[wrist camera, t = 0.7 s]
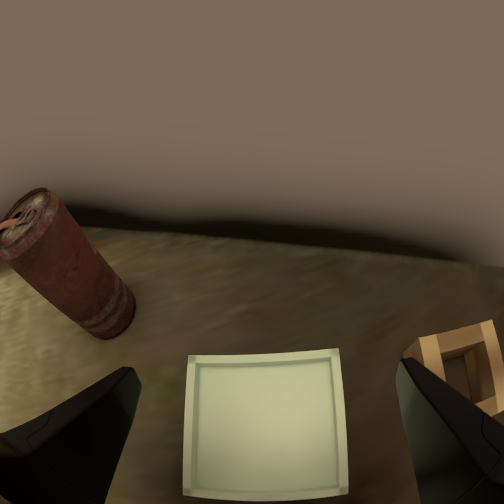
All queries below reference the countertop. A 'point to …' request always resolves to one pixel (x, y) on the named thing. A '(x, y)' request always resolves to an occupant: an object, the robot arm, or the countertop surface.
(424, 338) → the oak block
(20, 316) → the countertop surface
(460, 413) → the robot arm
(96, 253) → the can
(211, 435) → the tray
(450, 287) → the countertop surface
